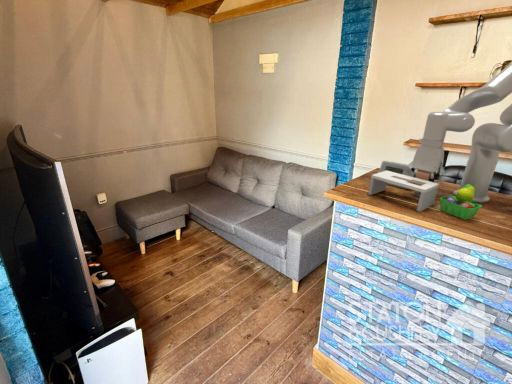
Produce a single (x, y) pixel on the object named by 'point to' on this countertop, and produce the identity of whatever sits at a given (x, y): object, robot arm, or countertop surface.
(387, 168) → the digital clock
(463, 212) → the fruit basket
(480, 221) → the countertop surface
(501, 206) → the countertop surface
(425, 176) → the peg
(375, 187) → the keyhole board
